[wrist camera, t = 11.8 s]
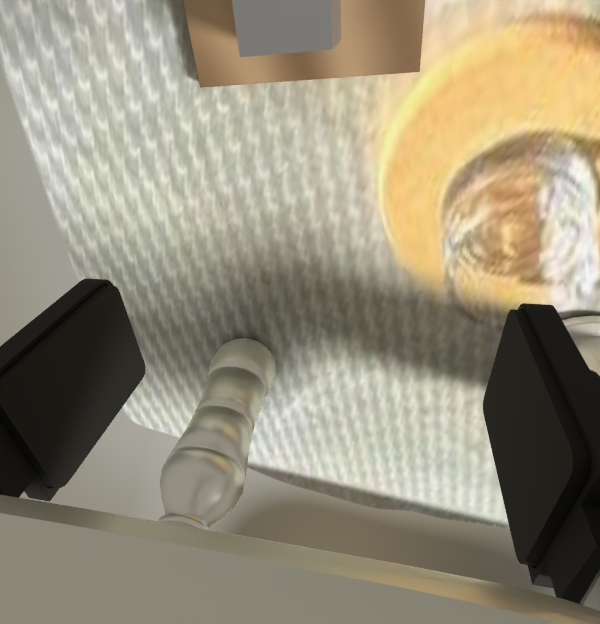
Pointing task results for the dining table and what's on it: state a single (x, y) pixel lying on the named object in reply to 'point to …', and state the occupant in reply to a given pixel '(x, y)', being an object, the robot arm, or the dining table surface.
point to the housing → (286, 26)
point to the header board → (313, 64)
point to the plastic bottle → (217, 437)
